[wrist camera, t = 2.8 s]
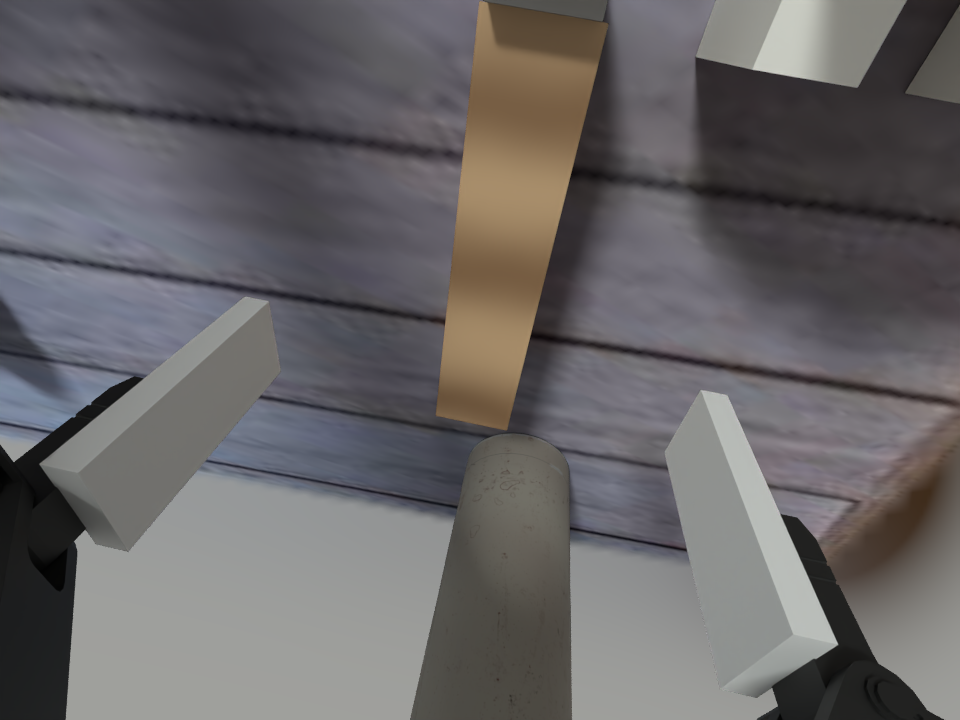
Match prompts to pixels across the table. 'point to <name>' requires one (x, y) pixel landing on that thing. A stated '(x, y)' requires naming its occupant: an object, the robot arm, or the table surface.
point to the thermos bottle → (504, 591)
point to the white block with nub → (824, 41)
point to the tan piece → (512, 191)
